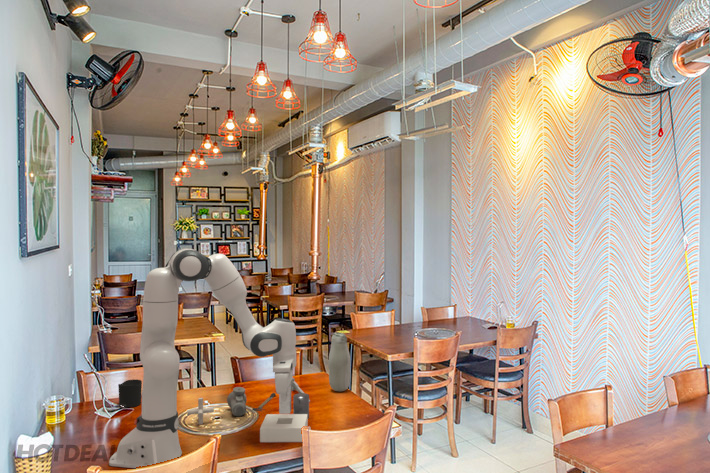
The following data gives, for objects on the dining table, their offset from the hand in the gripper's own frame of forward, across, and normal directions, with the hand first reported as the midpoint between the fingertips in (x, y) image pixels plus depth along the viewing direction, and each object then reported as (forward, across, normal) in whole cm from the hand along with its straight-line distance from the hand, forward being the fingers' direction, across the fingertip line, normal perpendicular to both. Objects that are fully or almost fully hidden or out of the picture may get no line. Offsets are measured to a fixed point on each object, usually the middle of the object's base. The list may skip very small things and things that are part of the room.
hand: (285, 398), depth 183 cm
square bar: (+5, 0, 0) cm, 5 cm away
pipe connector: (+14, -11, -35) cm, 39 cm away
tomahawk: (+14, -35, -12) cm, 40 cm away
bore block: (+14, 0, 0) cm, 14 cm away
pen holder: (+13, -33, -73) cm, 81 cm away
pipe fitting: (+14, -23, -23) cm, 35 cm away
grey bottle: (+14, -52, +19) cm, 57 cm away
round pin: (+14, -17, +4) cm, 22 cm away
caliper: (+14, -45, +1) cm, 47 cm away
